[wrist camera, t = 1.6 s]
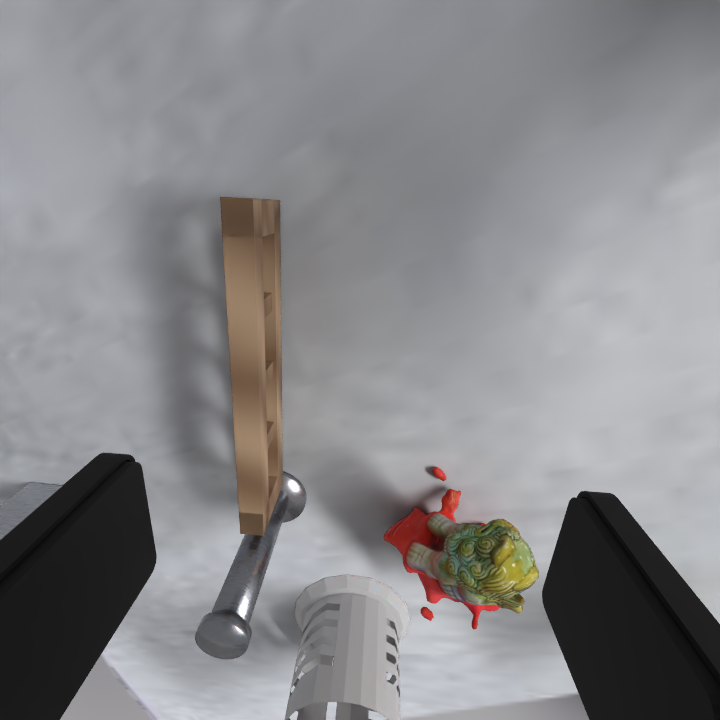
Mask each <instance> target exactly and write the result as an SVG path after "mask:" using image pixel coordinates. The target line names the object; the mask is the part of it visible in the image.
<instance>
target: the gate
mask: <svg viewBox="0 0 720 720" xmlns="http://www.w3.org/2000/svg"><path fill="white" fill-rule="evenodd" d="M220 203H221V219H222V236H223V253H224V269H225V286H226V303H227V319H228V336H229V353H230V370H231V386H232V403H233V420H234V436H235V453H236V470H237V486H238V503H239V520H240V534H250V535H261V536H264V534H265V531H266V528H267V526H268V523H269V520H270V518H271V515H272V512H273V510H274V507H275V504H276V501H277V499H278V496H279V493H280V491H281V488H282V485H283V466H282V358H281V249H280V200H268V199H253V198H231V197H220Z"/></svg>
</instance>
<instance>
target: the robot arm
mask: <svg viewBox="0 0 720 720" xmlns="http://www.w3.org/2000/svg"><path fill="white" fill-rule="evenodd" d="M155 564H156V550H155V544H154V538H153V532H152V526H151V520H150V514H149V508H148V501H147V495H146V489H145V483H144V477H143V471H142V467H141V465H140V463H138V462H135V459H134V458H133V456H131V455H127V454H114V453H101V454H99V455H98V456H96V457H95V458H94V459H93V460H92V461H91V462H89V463H88V464H87V465H86V466H85V467H84V468H83V469H81V470H80V471H79V472H78V473H77V474H76V475H74V476H73V477H72V478H71V479H70V480H69V481H68V482H66V483H65V484H64V485H63V486H62V487H61V488H60V489H58V490H57V491H56V492H55V493H54V494H53V495H51V496H50V497H49V498H48V499H47V500H46V501H45V502H43V503H42V504H41V505H40V506H39V507H38V508H37V509H35V510H34V511H33V512H32V513H31V514H30V515H28V516H27V517H26V518H25V519H24V520H23V521H22V522H20V523H19V524H18V525H17V526H16V527H15V528H13V529H12V530H11V531H10V532H9V533H8V534H7V535H5V536H4V537H3V538H2V539H1V540H0V720H60V719H61V717H62V715H63V714H64V712H65V711H66V709H67V707H68V706H69V704H70V702H71V701H72V699H73V698H74V696H75V695H76V693H77V692H78V690H79V688H80V686H81V685H82V684H83V682H84V680H85V679H86V677H87V676H88V674H89V672H90V671H91V669H92V668H93V666H94V665H95V663H96V661H97V660H98V658H99V657H100V655H101V653H102V652H103V650H104V649H105V647H106V646H107V644H108V642H109V641H110V639H111V638H112V636H113V634H114V633H115V631H116V630H117V628H118V626H119V625H120V623H121V622H122V620H123V619H124V617H125V615H126V614H127V612H128V611H129V609H130V607H131V606H132V604H133V603H134V601H135V600H136V598H137V596H138V595H139V593H140V592H141V590H142V588H143V587H144V585H145V584H146V582H147V580H148V579H149V577H150V576H151V574H152V572H153V570H154V567H155ZM542 598H543V605H544V608H545V611H546V613H547V616H548V618H549V621H550V623H551V626H552V628H553V631H554V633H555V636H556V638H557V641H558V643H559V646H560V648H561V651H562V653H563V655H564V658H565V660H566V663H567V665H568V668H569V670H570V673H571V675H572V678H573V680H574V683H575V685H576V688H577V690H578V693H579V695H580V697H581V700H582V702H583V705H584V707H585V710H586V712H587V715H588V717H589V719H590V720H720V624H719V623H718V621H717V620H716V619H715V618H714V617H713V615H712V614H711V613H710V612H709V610H708V609H707V608H706V607H705V605H704V604H703V603H702V602H701V601H700V599H699V598H698V597H697V596H696V594H695V593H694V592H693V591H692V589H691V588H690V587H689V586H688V584H687V583H686V582H685V581H684V580H683V578H682V577H681V576H680V575H679V573H678V572H677V571H676V570H675V568H674V567H673V566H672V565H671V563H670V562H669V561H668V560H667V559H666V557H665V556H664V555H663V554H662V552H661V551H660V550H659V549H658V547H657V546H656V545H655V544H654V542H653V541H652V540H651V539H650V538H649V536H648V535H647V534H646V533H645V531H644V530H643V529H642V528H641V526H640V525H639V524H638V523H637V521H636V520H635V519H634V518H633V517H632V515H631V514H630V513H629V512H628V510H627V509H626V508H625V507H624V505H623V504H622V503H621V502H620V501H619V499H618V498H617V497H616V496H615V495H613V494H611V493H601V492H589V491H582V492H580V493H579V494H578V496H577V498H572V499H571V500H570V502H569V504H568V507H567V511H566V514H565V517H564V521H563V524H562V527H561V530H560V534H559V537H558V540H557V544H556V547H555V550H554V554H553V557H552V560H551V563H550V567H549V570H548V573H547V577H546V580H545V583H544V587H543V591H542Z"/></svg>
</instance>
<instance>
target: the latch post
mask: <svg viewBox="0 0 720 720" xmlns="http://www.w3.org/2000/svg"><path fill="white" fill-rule="evenodd" d="M61 487H62V485H51V484H41V483H29V484H27V485H26V486H25V487H23V488H22V489H21V490H20V491H18V492H17V493H16V494H14V495H13V496H12V497H11V498H9V499H8V500H7V501H5V502H4V503H3V504H2V505H0V540H1V539H2V538H3V537H4V536H5V535H7V534H8V533H9V532H10V531H11V530H12V529H13V528H15V527H16V526H17V525H18V524H19V523H20V522H22V521H23V520H24V519H25V518H26V517H27V516H28V515H30V514H31V513H32V512H33V511H34V510H35V509H37V508H38V507H39V506H40V505H41V504H42V503H43V502H45V501H46V500H47V499H48V498H49V497H50V496H51V495H53V494H54V493H55V492H56V491H57V490H58V489H60V488H61Z"/></svg>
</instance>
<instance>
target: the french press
mask: <svg viewBox="0 0 720 720" xmlns="http://www.w3.org/2000/svg"><path fill="white" fill-rule="evenodd" d="M295 619H296V622H297V624H298V626H299V628H300V630H301V632H302V634H301V640H300V645H299V649H300V648H301V652H300V654H299V649H298V655H297V660H296V665H295V668H296V666H298V669H297V671H296V673H295V669H294V676H293V680H292V685H291V688H292V687H293V685H294V686H295V689H294V691H293V692H292V693H291V690H290V696H289V700H288V705H287V710H286V716H285V720H290V718H289V717H290V716H291V715H292V714H293V713H294V712H295V711H299V712H298V717H297V720H326V711H327V703H328V702H337V710H336V720H371V719H368V713H369V710H371V711H375V712H378V713H380V714H381V715H383V716H384V717H386V718H387V719H388V720H401V705H400V678H399V657H398V654H399V642H400V640H401V639H402V638H403V637H404V636H405V635H406V634H407V631H408V627H409V623H410V619H411V618H410V615H409V612H408V609H407V606H406V602H405V601H404V600H403V599H402V598H401V597H400V596H399V595H398V594H397V593H396V592H395V591H394V590H393V589H392V588H391V587H389V586H386V585H384V584H382V583H380V582H378V581H376V580H374V579H372V578H367V577H360V576H353V575H341V576H335V577H328V578H323V579H322V580H320V581H318V582H316V583H314V584H312V585H310V586H308V587H307V588H306V589H305V590H304V591H303V593H302V594H301V595H300V597H299V598H298V599H297V601H296V607H295ZM303 654H305V655H306V657H305V658H304V660H303V661H302V660H301V658H302V656H303ZM399 656H400V655H399ZM333 657H334V660H333ZM332 661H333V666H332ZM396 662H397V668H396V665H395V663H396ZM301 671H302V672H304V673H305V674H304V675H303V676H302V677H301V678H300V680H299V679H298V676H299V674H300V672H301ZM388 672H389V673H391V674H393V675H392V677H391V679H390V680H388V681H386V673H388ZM396 680H397V682H398V686H397V688H396V686H395V685H393V684H394V683H395V681H396ZM398 692H399V695H398Z"/></svg>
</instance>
